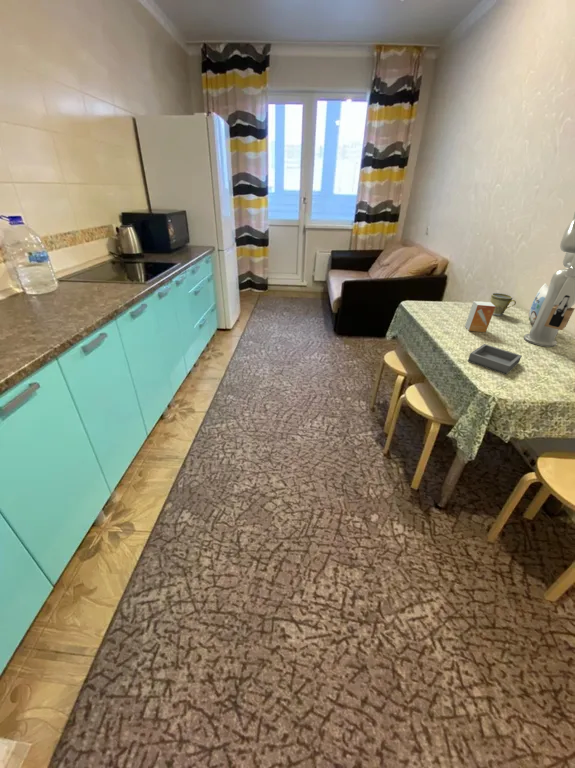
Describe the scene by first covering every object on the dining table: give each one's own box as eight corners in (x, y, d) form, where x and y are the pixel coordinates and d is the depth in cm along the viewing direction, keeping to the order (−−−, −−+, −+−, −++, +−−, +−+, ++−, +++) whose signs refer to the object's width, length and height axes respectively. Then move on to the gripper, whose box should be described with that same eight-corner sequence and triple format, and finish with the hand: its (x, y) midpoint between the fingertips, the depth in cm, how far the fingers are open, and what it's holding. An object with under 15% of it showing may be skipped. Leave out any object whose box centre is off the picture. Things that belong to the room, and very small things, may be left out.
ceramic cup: (481, 311, 183) (487, 294, 178) (492, 309, 187) (499, 292, 182) (503, 319, 173) (511, 301, 168) (515, 316, 178) (522, 298, 172)
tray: (481, 351, 138) (484, 343, 136) (518, 363, 130) (521, 355, 128) (467, 361, 130) (470, 353, 128) (505, 374, 121) (509, 366, 120)
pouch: (539, 323, 171) (557, 284, 160) (546, 335, 156) (566, 293, 145) (522, 320, 173) (538, 282, 163) (526, 332, 158) (545, 291, 148)
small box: (468, 331, 158) (477, 304, 151) (464, 326, 163) (473, 300, 156) (486, 332, 157) (496, 306, 150) (481, 327, 162) (491, 302, 155)
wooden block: (548, 322, 125) (556, 304, 121) (565, 326, 121) (574, 308, 117) (544, 325, 121) (552, 307, 118) (561, 330, 118) (571, 311, 114)
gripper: (572, 268, 119) (550, 316, 128) (560, 275, 109) (537, 326, 118) (599, 272, 114) (573, 321, 123) (589, 279, 104) (562, 332, 114)
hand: (556, 323), depth 121 cm, fingers closed on wooden block, 5 cm apart
